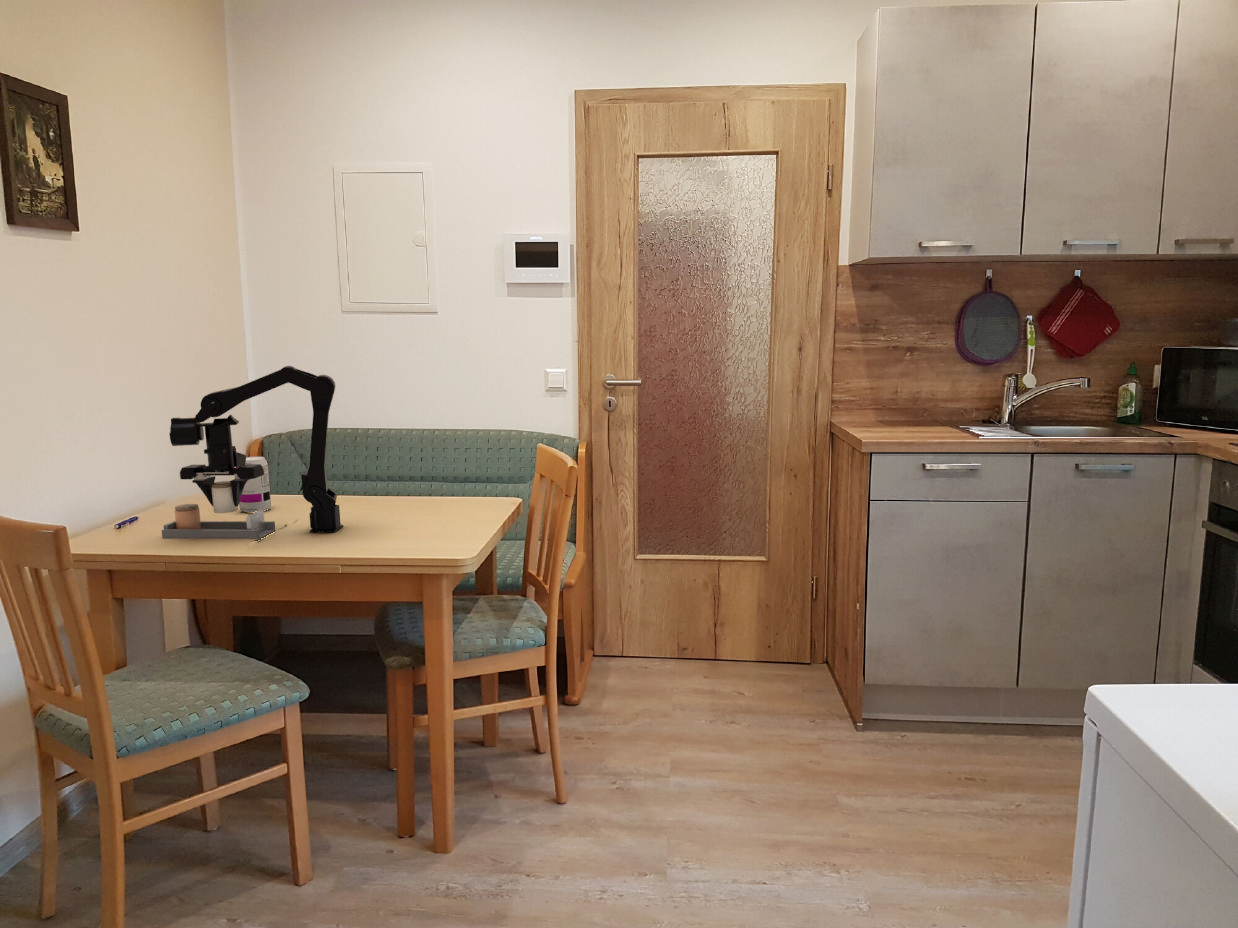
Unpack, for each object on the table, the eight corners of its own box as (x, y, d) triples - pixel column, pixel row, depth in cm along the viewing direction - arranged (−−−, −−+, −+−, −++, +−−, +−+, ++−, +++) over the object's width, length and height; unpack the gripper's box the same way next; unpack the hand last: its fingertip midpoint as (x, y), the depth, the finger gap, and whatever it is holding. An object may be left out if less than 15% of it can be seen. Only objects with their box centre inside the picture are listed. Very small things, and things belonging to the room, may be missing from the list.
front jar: (206, 530, 215) (203, 503, 213) (193, 536, 209) (191, 508, 208) (185, 530, 215) (182, 503, 214) (172, 536, 210) (169, 508, 208)
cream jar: (242, 508, 213) (239, 480, 212) (231, 513, 208) (228, 485, 206) (221, 508, 213) (218, 480, 212) (209, 513, 208) (206, 485, 207)
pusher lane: (275, 532, 215) (274, 517, 215) (257, 542, 206) (256, 526, 205) (184, 532, 217) (183, 517, 216) (162, 542, 208) (161, 526, 207)
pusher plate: (265, 529, 214) (263, 510, 213) (251, 536, 207) (250, 516, 207) (261, 529, 214) (259, 510, 213) (247, 536, 207) (246, 516, 207)
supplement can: (250, 515, 236) (245, 461, 233) (234, 511, 241) (229, 459, 238) (277, 509, 242) (272, 457, 240) (261, 506, 247) (256, 455, 245)
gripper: (271, 438, 215) (277, 499, 217) (200, 439, 216) (206, 499, 219) (249, 445, 204) (255, 508, 206) (175, 445, 205) (182, 508, 208)
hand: (225, 505), depth 210 cm, fingers closed on cream jar, 5 cm apart
